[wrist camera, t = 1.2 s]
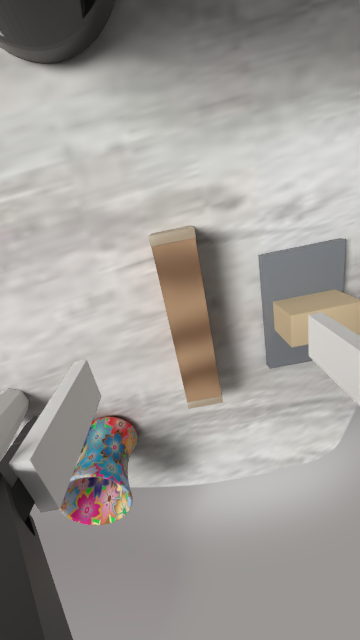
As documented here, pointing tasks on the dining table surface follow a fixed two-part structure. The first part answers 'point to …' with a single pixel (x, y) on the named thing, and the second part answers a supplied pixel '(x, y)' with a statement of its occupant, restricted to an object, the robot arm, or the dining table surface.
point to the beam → (187, 313)
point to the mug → (102, 474)
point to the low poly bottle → (11, 415)
